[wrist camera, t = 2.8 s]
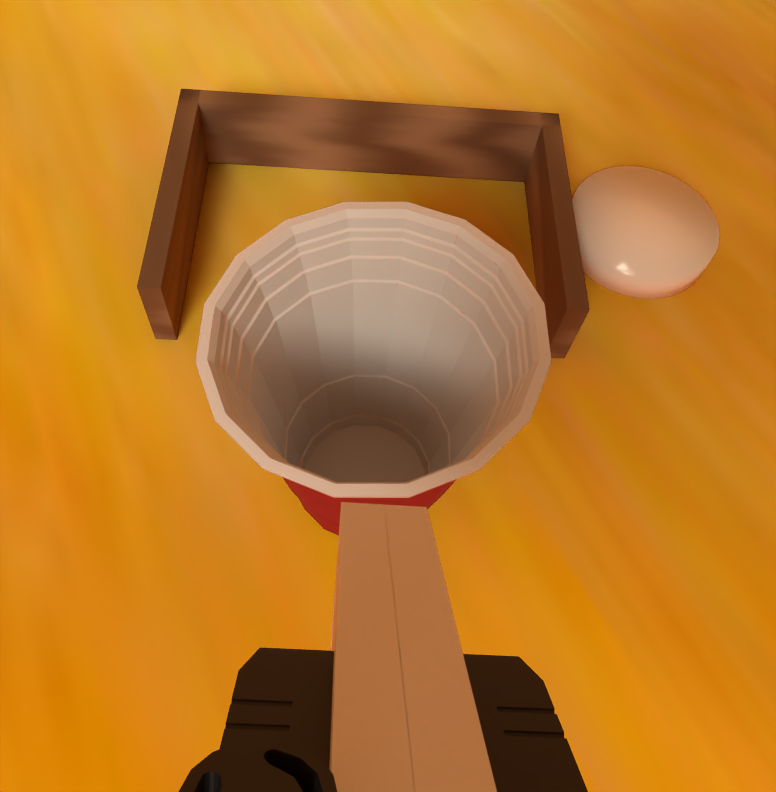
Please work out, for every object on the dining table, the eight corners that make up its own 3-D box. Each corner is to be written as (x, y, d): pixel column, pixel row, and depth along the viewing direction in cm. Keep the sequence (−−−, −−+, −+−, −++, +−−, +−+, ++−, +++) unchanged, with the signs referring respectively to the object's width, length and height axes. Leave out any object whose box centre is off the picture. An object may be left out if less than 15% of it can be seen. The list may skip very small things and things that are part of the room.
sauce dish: (687, 196, 43) (702, 170, 42) (716, 305, 39) (734, 282, 38) (554, 188, 43) (563, 161, 41) (569, 298, 39) (581, 273, 37)
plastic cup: (224, 392, 34) (179, 207, 24) (449, 362, 36) (498, 178, 26) (248, 627, 29) (204, 522, 19) (509, 580, 31) (601, 460, 20)
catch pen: (539, 170, 43) (558, 113, 40) (564, 357, 37) (589, 309, 33) (193, 148, 42) (181, 88, 38) (155, 338, 35) (136, 286, 32)
